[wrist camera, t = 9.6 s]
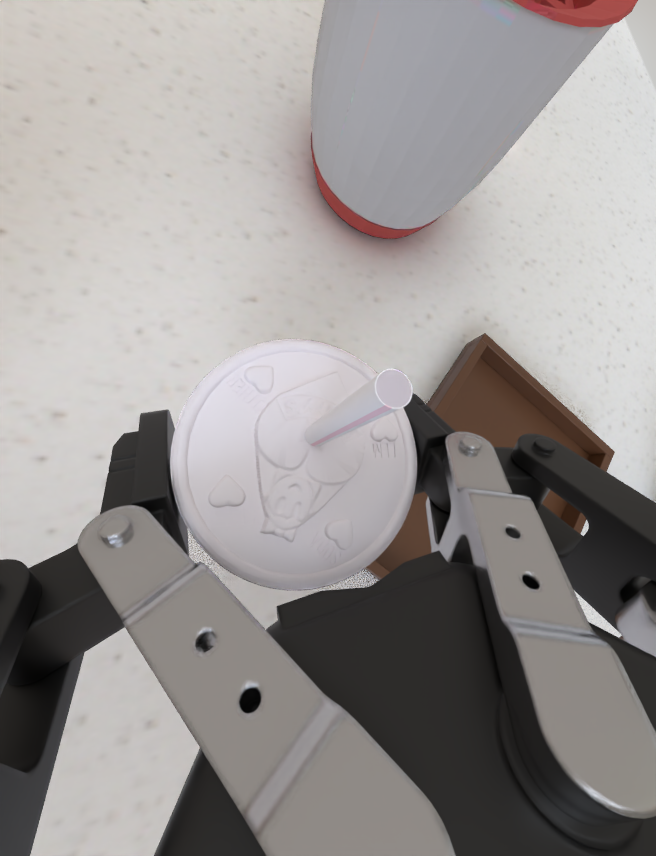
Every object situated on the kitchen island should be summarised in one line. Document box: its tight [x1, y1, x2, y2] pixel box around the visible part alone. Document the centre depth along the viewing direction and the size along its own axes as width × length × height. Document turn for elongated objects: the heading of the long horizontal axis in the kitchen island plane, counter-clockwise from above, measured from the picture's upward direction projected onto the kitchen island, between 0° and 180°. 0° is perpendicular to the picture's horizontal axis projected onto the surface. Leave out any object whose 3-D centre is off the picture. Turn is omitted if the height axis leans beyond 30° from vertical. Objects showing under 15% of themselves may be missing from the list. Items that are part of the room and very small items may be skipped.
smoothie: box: [170, 339, 417, 590], centre depth 11 cm, size 6×6×14 cm
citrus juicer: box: [311, 0, 638, 238], centre depth 22 cm, size 16×17×20 cm
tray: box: [365, 333, 615, 580], centre depth 28 cm, size 22×17×2 cm
